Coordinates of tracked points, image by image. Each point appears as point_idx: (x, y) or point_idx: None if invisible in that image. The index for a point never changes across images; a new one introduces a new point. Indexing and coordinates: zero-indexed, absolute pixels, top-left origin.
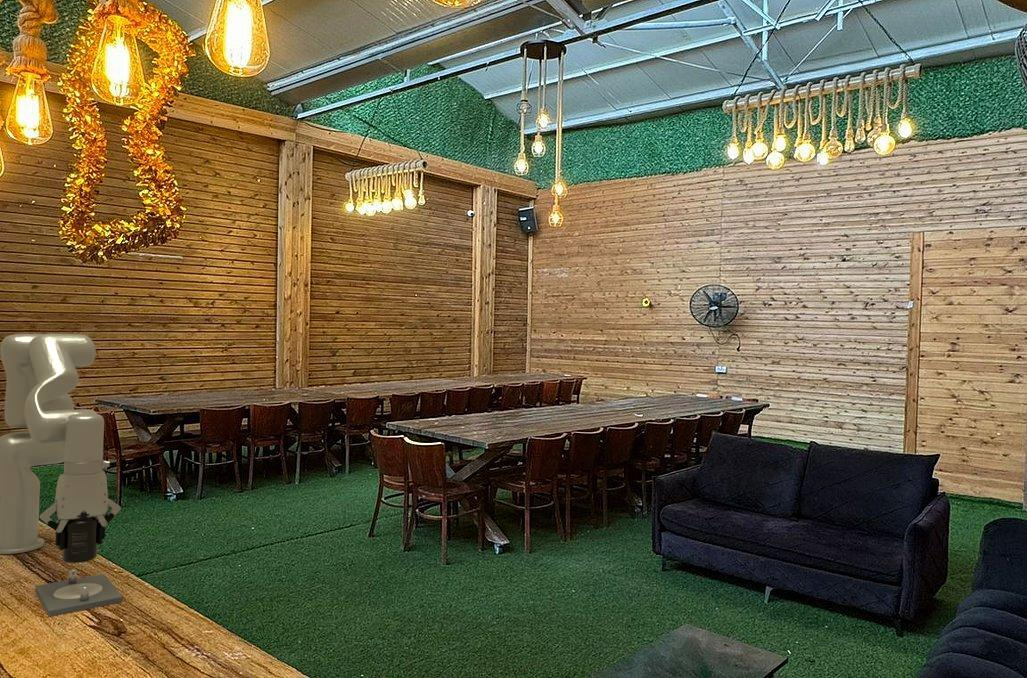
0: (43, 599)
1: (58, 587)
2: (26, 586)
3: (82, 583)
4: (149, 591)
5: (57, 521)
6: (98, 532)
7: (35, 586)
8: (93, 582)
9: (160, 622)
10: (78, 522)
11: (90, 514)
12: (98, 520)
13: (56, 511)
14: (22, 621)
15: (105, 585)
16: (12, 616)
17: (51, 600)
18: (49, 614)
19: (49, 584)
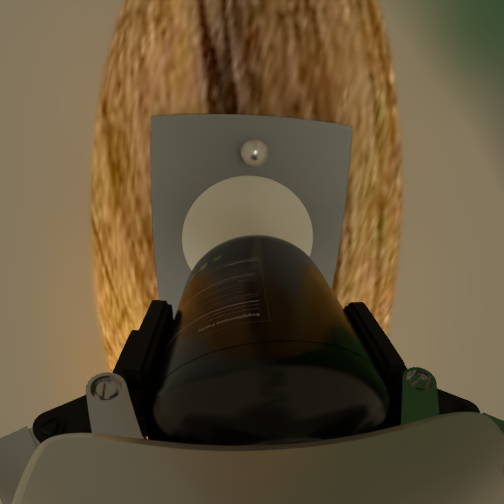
0: (156, 255)
1: (205, 173)
2: (145, 64)
3: (274, 182)
4: (387, 297)
5: (93, 428)
6: None
7: (151, 120)
8: (305, 189)
9: None
10: None
11: None
12: (398, 406)
13: (38, 459)
14: (120, 320)
15: (323, 237)
16: (100, 282)
17: (173, 274)
18: None
19: (188, 125)
